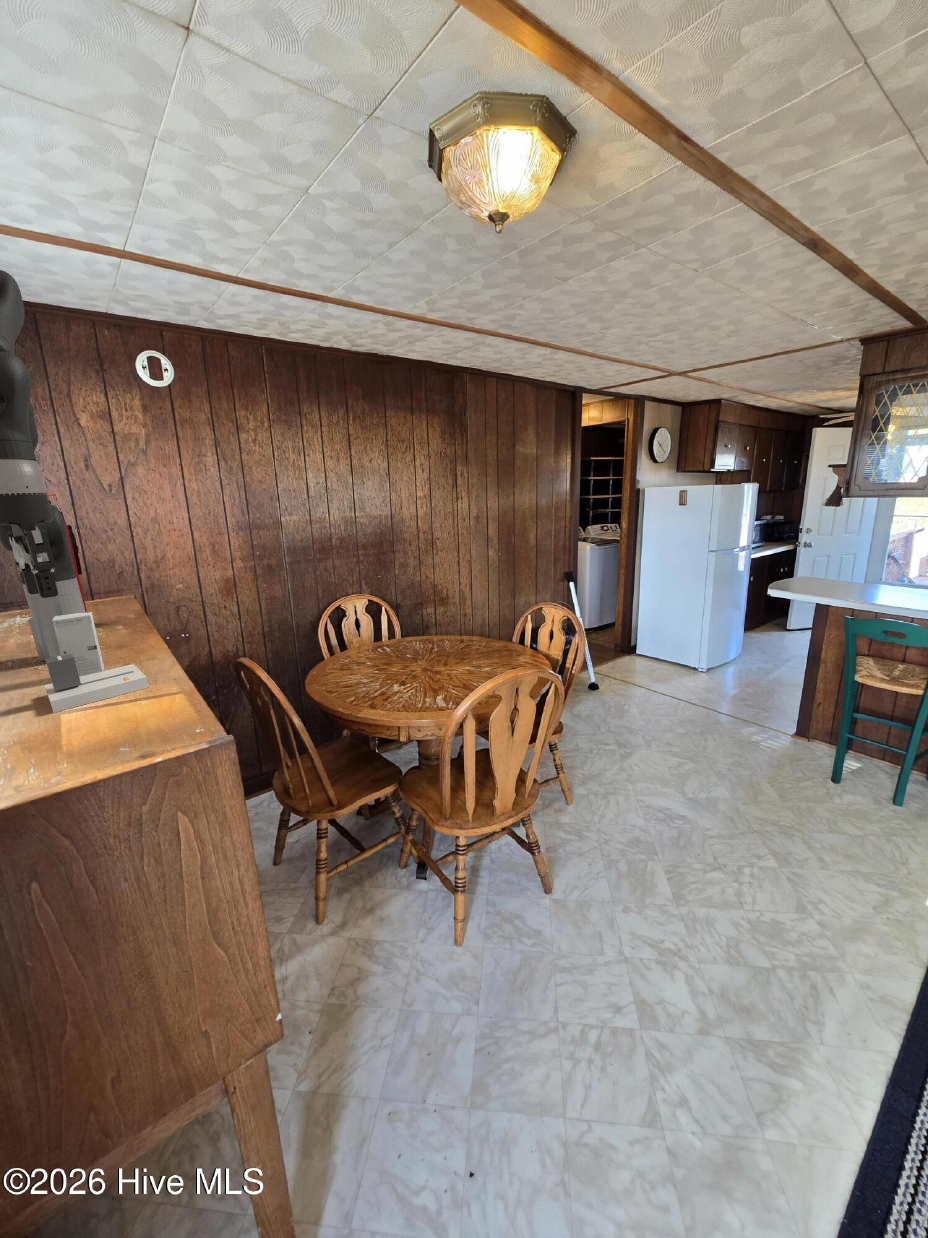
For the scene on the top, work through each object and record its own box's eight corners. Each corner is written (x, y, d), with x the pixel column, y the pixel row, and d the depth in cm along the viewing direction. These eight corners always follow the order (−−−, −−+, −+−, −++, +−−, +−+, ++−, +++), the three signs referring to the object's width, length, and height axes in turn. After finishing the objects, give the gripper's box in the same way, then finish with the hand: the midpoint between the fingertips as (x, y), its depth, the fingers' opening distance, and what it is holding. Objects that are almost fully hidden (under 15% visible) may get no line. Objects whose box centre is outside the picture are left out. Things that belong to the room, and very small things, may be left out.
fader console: (53, 712, 80) (50, 701, 80) (47, 695, 88) (44, 684, 88) (149, 687, 89) (146, 676, 89) (135, 673, 97) (133, 663, 96)
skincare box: (66, 681, 95) (49, 620, 92) (68, 674, 99) (52, 616, 96) (105, 673, 98) (89, 614, 95) (106, 667, 102) (91, 610, 99)
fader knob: (55, 691, 83) (46, 662, 82) (53, 686, 85) (45, 659, 84) (81, 684, 86) (73, 656, 84) (78, 680, 88) (71, 653, 86)
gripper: (57, 488, 74) (83, 594, 78) (36, 494, 83) (60, 588, 87) (-10, 490, 69) (22, 603, 73) (-25, 495, 78) (4, 596, 82)
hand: (43, 595), depth 80 cm, fingers open, 8 cm apart
